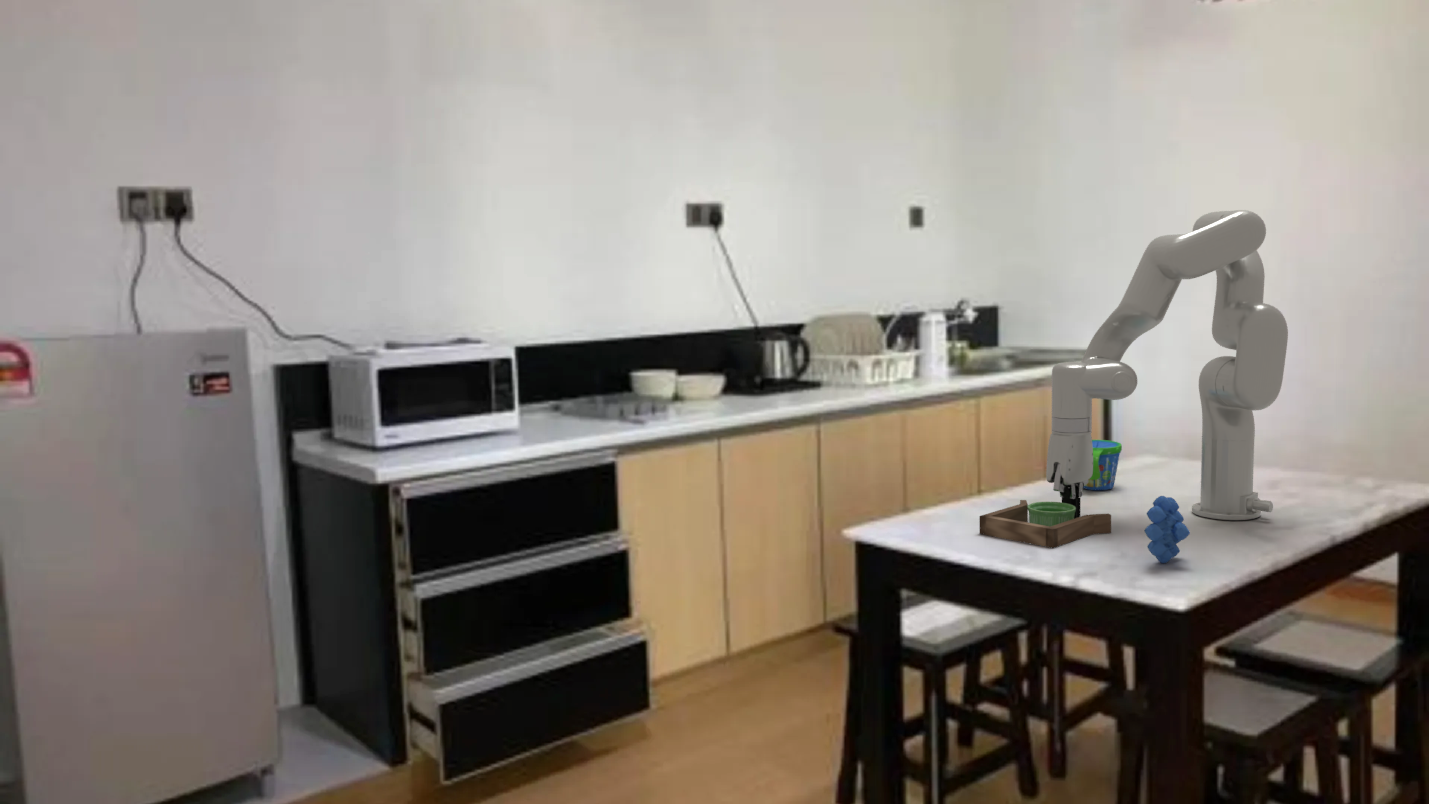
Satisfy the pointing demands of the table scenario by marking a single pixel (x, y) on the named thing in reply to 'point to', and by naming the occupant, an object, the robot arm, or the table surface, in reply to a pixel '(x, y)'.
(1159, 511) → the grapes
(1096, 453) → the snack cup
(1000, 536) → the walnut holder
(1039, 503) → the ramekin
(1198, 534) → the table surface
